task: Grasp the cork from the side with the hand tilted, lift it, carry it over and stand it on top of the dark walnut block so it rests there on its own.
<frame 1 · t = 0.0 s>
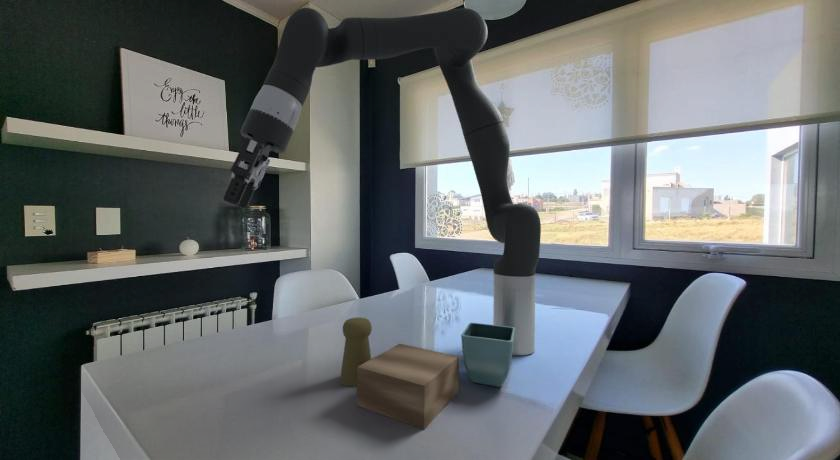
hand: (235, 204, 56), 31 cm above the table, tool tilted 20°, fingers open, 8 cm apart
cork: (356, 379, 60), on the table
flower pot: (488, 380, 60), on the table
walnut block: (409, 398, 53), on the table
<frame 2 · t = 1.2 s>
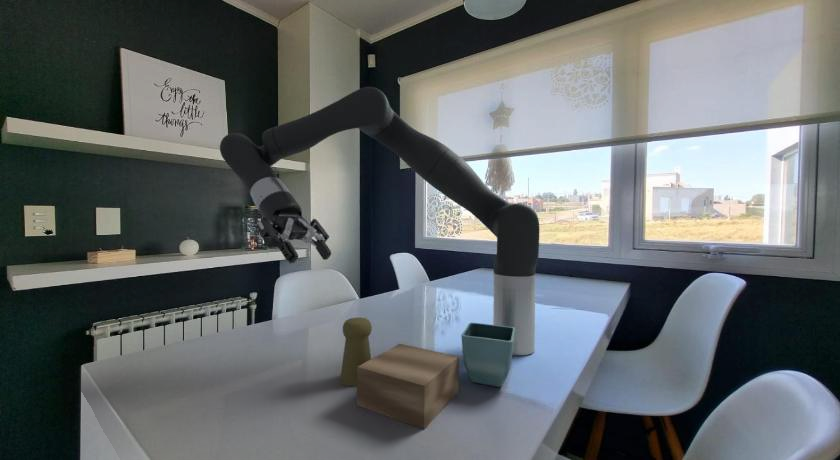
hand: (312, 258, 66), 21 cm above the table, tool tilted 45°, fingers open, 8 cm apart
nothing on the table moved.
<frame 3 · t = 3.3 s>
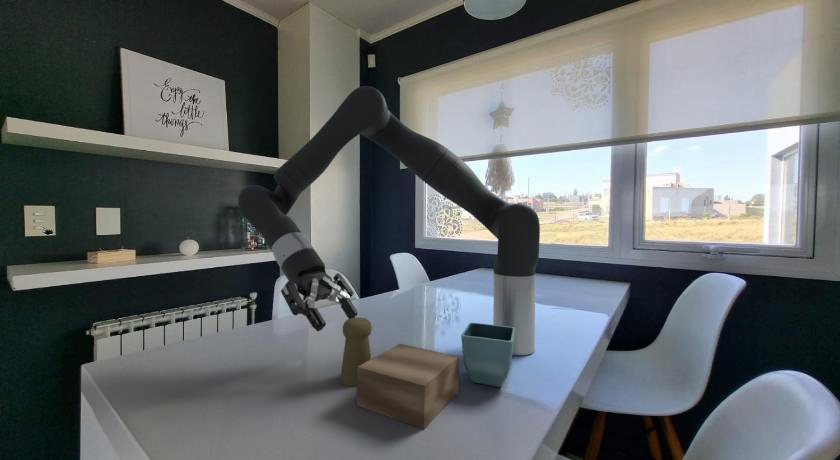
hand: (339, 322, 62), 10 cm above the table, tool tilted 45°, fingers open, 8 cm apart
nothing on the table moved.
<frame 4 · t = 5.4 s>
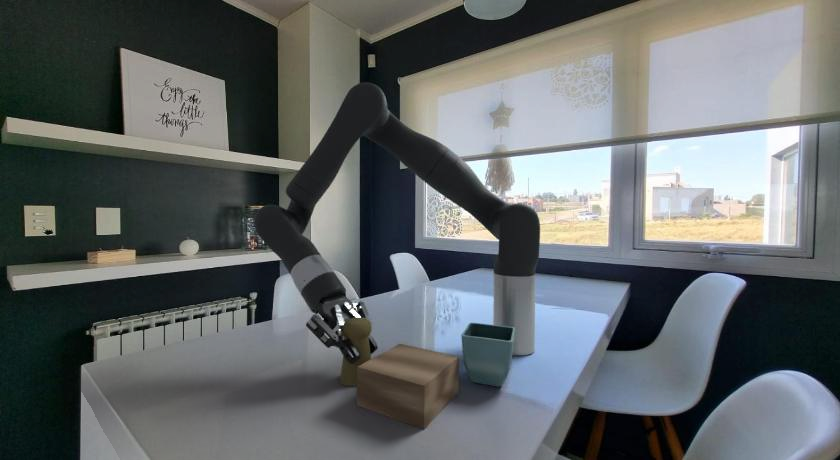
hand: (365, 355, 59), 5 cm above the table, tool tilted 45°, fingers closed on cork, 4 cm apart
cork: (356, 379, 60), on the table, touching gripper
everything else where it was.
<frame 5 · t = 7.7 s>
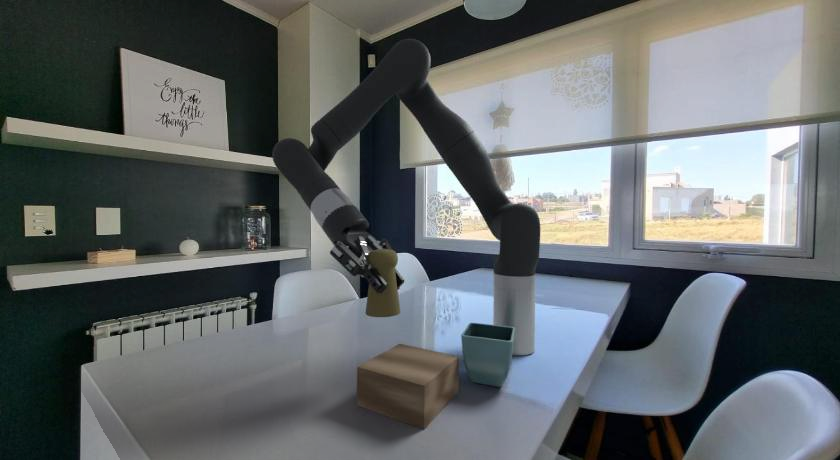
hand: (392, 287, 56), 18 cm above the table, tool tilted 45°, fingers closed on cork, 4 cm apart
cork: (383, 313, 57), point 13 cm above the table, touching gripper
everything else where it was.
when the fingers open (11 cm above the table, at t = 10.3 s): cork stays where it is, resting on walnut block.
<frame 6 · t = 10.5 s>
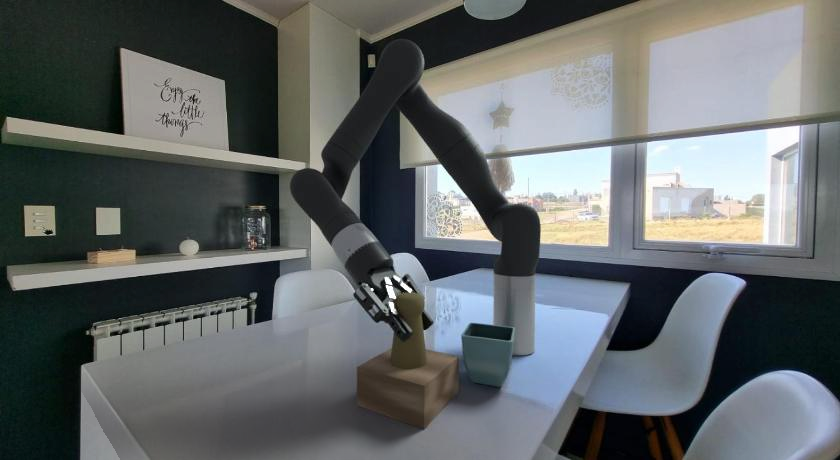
hand: (419, 332, 52), 11 cm above the table, tool tilted 45°, fingers open, 6 cm apart
cork: (408, 362, 53), point 6 cm above the table, touching walnut block
everything else where it was.
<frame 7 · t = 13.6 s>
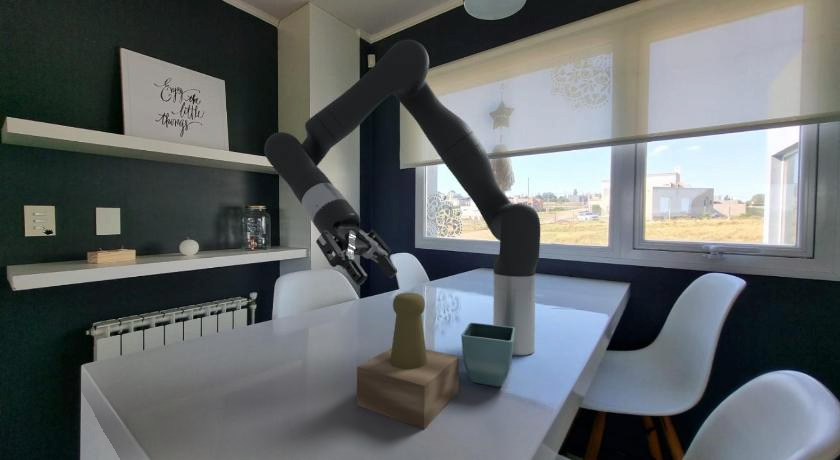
hand: (379, 278, 56), 19 cm above the table, tool tilted 45°, fingers open, 8 cm apart
nothing on the table moved.
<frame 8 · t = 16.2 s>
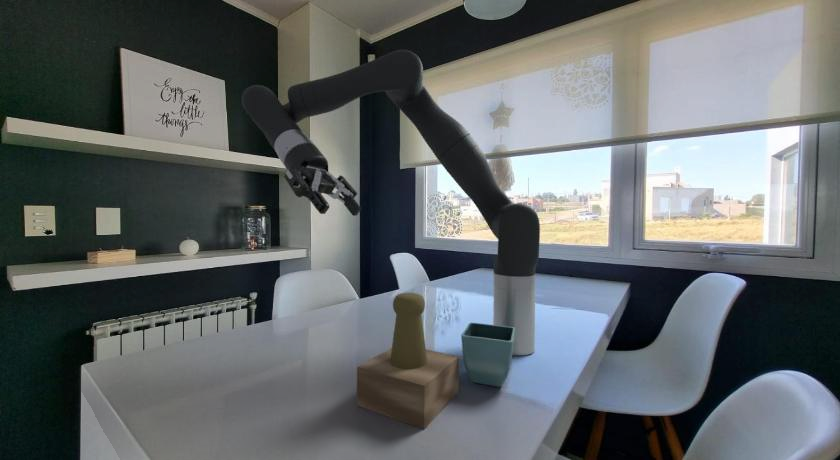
hand: (342, 211, 62), 31 cm above the table, tool tilted 45°, fingers open, 8 cm apart
nothing on the table moved.
at the end: cork inside the target area on the walnut block (0.3 cm from its centre), point 5.8 cm above the walnut block's base; cork tilted 0°; the gripper is holding nothing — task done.
